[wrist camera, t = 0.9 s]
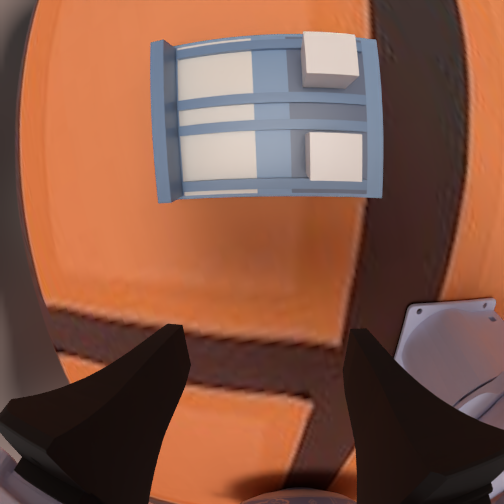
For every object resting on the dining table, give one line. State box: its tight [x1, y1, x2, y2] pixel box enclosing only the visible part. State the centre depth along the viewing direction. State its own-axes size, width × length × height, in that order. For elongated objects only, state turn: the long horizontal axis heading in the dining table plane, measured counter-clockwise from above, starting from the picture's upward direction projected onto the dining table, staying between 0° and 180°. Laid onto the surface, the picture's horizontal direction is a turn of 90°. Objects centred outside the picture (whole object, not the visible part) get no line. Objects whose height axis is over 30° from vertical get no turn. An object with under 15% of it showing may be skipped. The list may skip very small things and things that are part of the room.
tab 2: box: [305, 132, 362, 182], centre depth 14 cm, size 2×2×4 cm
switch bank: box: [150, 34, 383, 203], centre depth 15 cm, size 13×10×3 cm
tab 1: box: [301, 31, 359, 89], centre depth 12 cm, size 2×2×4 cm
